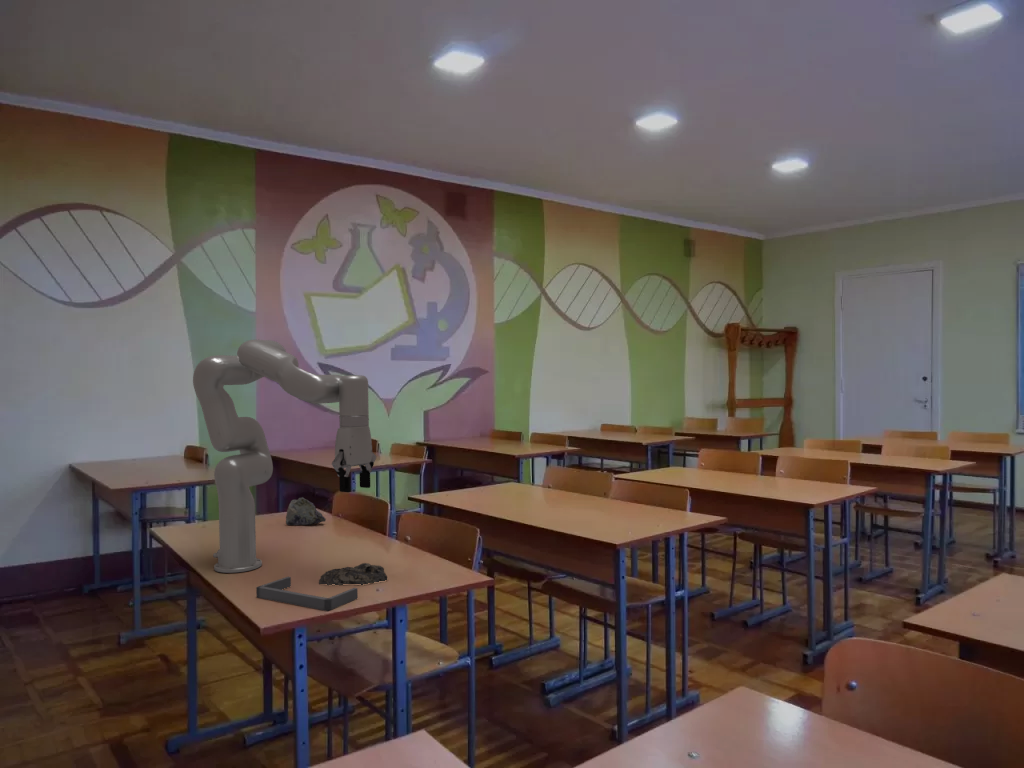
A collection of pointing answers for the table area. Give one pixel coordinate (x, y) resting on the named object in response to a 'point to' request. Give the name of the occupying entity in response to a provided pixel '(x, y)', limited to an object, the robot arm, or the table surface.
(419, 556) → the table surface
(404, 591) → the table surface
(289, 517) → the mineral rock
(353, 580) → the grey rough rock slab
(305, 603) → the frame
